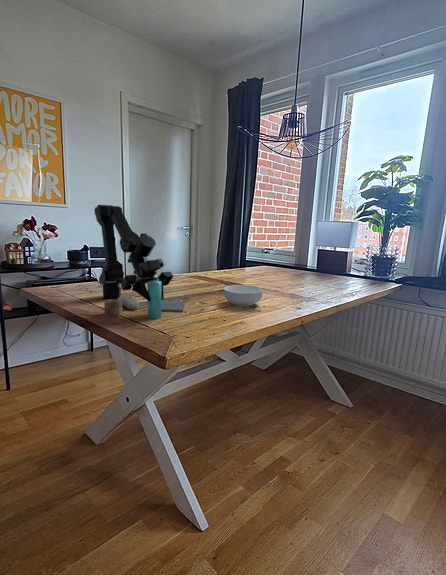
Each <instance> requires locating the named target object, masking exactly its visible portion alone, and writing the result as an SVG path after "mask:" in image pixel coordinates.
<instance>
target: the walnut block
mask: <svg viewBox="0 0 446 575" xmlns="http://www.w3.org/2000/svg"><path fill="white" fill-rule="evenodd" d="M103 304H104V317H120V316H121V315H122V314H123V311H124V310H123V303H122V299H106V300H105V302H104V303H103Z"/></svg>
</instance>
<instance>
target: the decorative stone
mask: <svg viewBox="0 0 446 575" xmlns="http://www.w3.org/2000/svg"><path fill="white" fill-rule="evenodd" d="M121 300H122V306H124V307H125V308H127V309H128V310H133V311H135V310H137V309H138V308H139V306H140V302H139V300H138V298H137V297H135V296H133V295H131V294H130V295H129V294H128V295H126V296H123V298H122V299H121Z"/></svg>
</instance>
